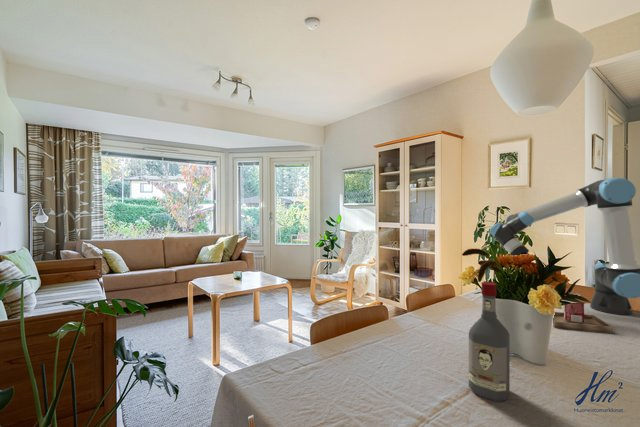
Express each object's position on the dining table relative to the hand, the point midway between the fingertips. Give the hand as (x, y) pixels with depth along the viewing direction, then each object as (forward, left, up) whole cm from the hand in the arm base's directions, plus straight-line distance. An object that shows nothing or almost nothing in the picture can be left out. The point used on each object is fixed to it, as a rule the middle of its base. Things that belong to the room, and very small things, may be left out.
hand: (551, 285), depth 140 cm
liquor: (+39, +71, -16) cm, 83 cm away
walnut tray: (-7, +5, -15) cm, 18 cm away
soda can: (-6, +5, -15) cm, 17 cm away
